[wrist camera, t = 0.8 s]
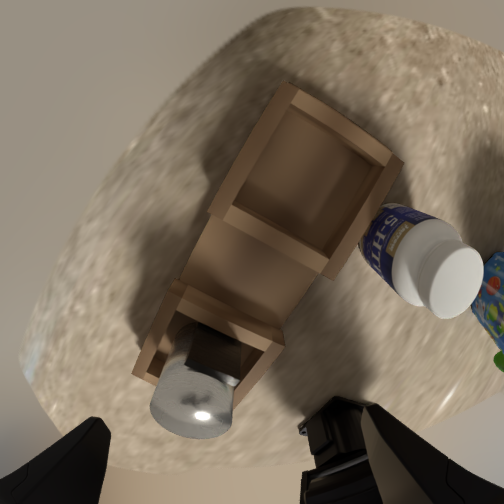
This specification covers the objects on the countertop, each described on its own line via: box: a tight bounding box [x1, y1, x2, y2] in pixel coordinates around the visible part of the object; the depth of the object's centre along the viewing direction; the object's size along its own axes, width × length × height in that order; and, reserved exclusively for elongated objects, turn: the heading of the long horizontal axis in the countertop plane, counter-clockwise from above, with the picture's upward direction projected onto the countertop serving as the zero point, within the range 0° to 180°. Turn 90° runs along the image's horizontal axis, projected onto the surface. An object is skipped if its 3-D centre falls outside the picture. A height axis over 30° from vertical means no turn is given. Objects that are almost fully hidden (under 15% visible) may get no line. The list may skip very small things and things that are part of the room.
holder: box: [131, 81, 404, 410], centre depth 19 cm, size 8×24×4 cm, turn 151°
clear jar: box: [150, 321, 242, 439], centre depth 17 cm, size 5×5×7 cm
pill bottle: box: [359, 203, 484, 319], centre depth 15 cm, size 5×5×9 cm
